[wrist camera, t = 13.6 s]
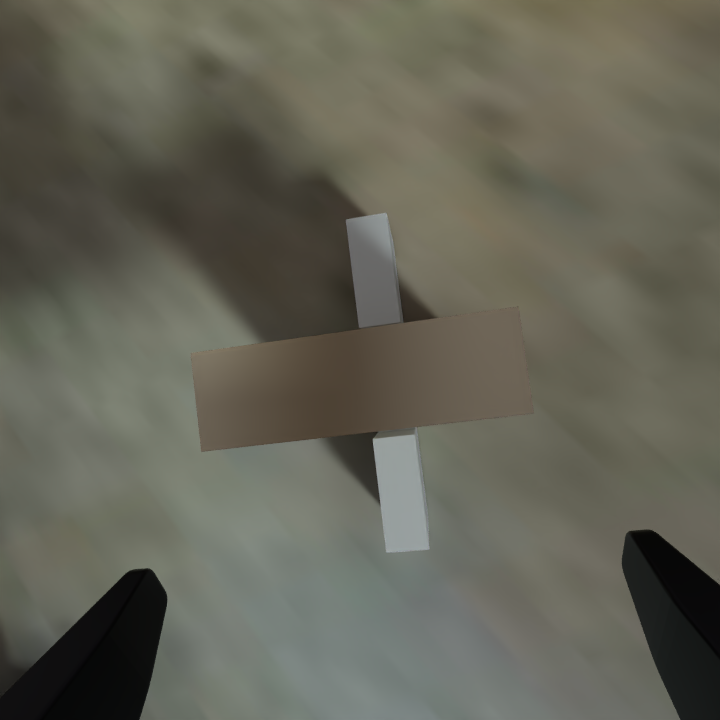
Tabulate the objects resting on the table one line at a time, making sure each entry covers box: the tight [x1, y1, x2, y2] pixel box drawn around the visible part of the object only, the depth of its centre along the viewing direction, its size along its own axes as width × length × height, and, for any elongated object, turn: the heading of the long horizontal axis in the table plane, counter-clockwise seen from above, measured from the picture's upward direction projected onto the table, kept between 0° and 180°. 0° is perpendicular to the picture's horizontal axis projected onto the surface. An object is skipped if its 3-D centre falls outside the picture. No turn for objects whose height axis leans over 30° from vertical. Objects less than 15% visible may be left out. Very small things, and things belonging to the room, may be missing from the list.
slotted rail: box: [346, 213, 429, 553], centre depth 19 cm, size 12×2×4 cm, turn 7°
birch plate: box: [191, 307, 534, 452], centre depth 15 cm, size 6×2×12 cm, turn 98°
